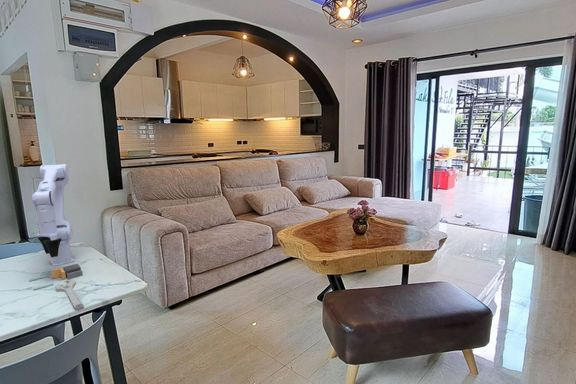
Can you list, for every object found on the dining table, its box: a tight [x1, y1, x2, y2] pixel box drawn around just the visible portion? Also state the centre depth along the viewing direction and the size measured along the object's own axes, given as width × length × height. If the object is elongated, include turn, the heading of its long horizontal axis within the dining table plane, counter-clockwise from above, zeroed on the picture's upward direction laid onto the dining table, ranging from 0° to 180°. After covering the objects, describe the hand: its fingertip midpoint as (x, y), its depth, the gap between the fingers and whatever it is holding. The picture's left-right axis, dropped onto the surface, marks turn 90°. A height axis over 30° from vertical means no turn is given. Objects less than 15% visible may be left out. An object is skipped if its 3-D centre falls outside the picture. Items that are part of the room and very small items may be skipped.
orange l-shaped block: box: [51, 267, 67, 280], centre depth 131 cm, size 5×4×3 cm
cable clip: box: [62, 267, 83, 280], centre depth 134 cm, size 8×5×2 cm, turn 44°
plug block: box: [62, 263, 82, 279], centre depth 134 cm, size 5×5×4 cm
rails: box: [28, 274, 54, 292], centre depth 127 cm, size 11×6×1 cm, turn 44°
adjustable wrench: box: [55, 279, 85, 311], centre depth 117 cm, size 25×6×2 cm, turn 39°
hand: (51, 254), depth 133 cm, fingers open, 7 cm apart
